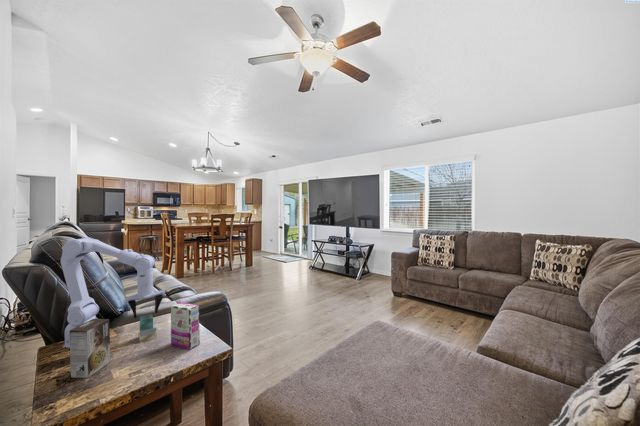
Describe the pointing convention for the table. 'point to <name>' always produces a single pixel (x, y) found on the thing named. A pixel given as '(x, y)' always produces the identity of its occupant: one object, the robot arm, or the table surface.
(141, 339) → the base block
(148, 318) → the cube
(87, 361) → the coffee box
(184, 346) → the candy bar box
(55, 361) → the table surface
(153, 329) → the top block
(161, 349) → the table surface
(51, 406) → the table surface
